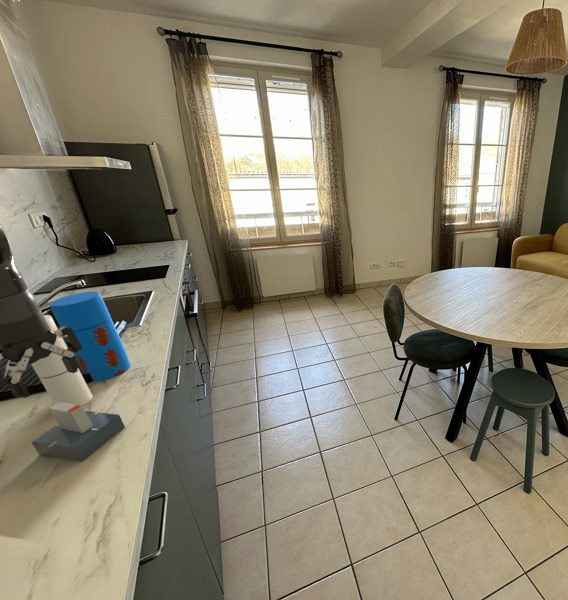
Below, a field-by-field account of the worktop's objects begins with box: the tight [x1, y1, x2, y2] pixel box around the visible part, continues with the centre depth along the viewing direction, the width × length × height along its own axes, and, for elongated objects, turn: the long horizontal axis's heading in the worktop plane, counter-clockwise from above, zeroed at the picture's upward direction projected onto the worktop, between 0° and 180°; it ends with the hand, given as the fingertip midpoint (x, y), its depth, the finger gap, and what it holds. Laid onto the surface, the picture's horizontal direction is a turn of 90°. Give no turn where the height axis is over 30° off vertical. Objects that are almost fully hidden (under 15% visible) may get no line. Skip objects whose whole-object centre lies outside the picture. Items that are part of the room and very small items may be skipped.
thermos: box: [49, 291, 131, 382], centre depth 98 cm, size 11×11×25 cm
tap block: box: [30, 409, 126, 462], centre depth 76 cm, size 12×11×4 cm
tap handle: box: [47, 402, 93, 433], centre depth 74 cm, size 7×2×6 cm, turn 76°
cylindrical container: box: [30, 314, 94, 407], centre depth 85 cm, size 7×7×25 cm
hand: (50, 383), depth 70 cm, fingers open, 8 cm apart
